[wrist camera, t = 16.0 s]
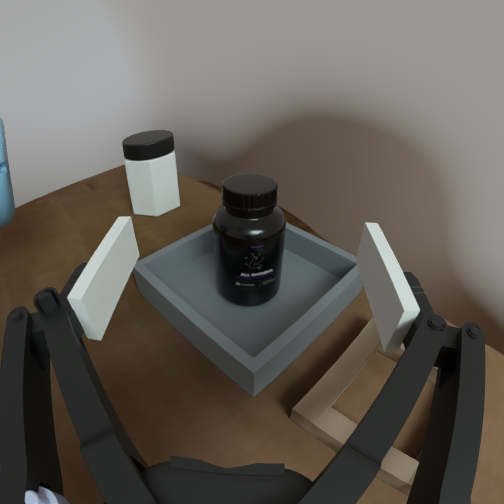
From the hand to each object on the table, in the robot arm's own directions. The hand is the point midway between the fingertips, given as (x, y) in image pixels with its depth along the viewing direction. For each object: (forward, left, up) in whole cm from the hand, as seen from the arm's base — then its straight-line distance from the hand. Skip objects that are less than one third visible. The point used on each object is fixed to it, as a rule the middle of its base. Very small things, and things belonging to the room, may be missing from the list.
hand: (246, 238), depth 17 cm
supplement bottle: (-7, +8, -14) cm, 17 cm away
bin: (-7, +8, -14) cm, 18 cm away
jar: (-33, +12, -15) cm, 38 cm away
